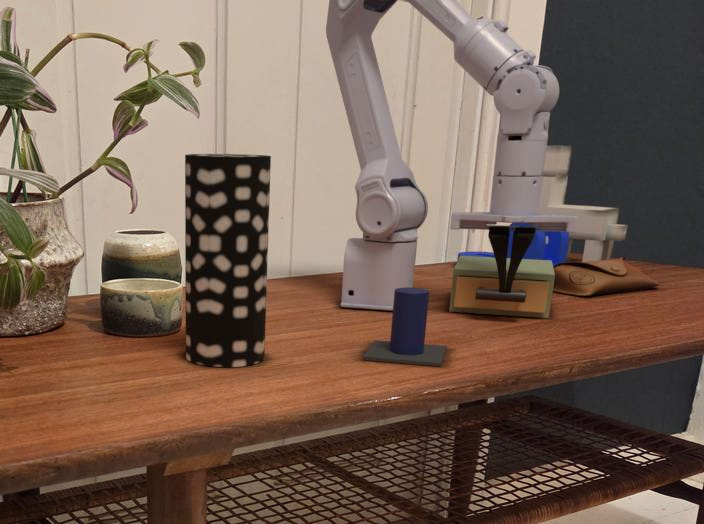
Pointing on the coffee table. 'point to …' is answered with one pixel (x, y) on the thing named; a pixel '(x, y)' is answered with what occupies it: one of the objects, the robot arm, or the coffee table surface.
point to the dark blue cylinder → (409, 321)
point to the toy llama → (578, 209)
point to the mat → (382, 353)
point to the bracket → (536, 246)
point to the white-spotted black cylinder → (226, 258)
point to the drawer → (501, 294)
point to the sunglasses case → (599, 277)
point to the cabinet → (489, 269)
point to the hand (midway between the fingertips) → (504, 290)
